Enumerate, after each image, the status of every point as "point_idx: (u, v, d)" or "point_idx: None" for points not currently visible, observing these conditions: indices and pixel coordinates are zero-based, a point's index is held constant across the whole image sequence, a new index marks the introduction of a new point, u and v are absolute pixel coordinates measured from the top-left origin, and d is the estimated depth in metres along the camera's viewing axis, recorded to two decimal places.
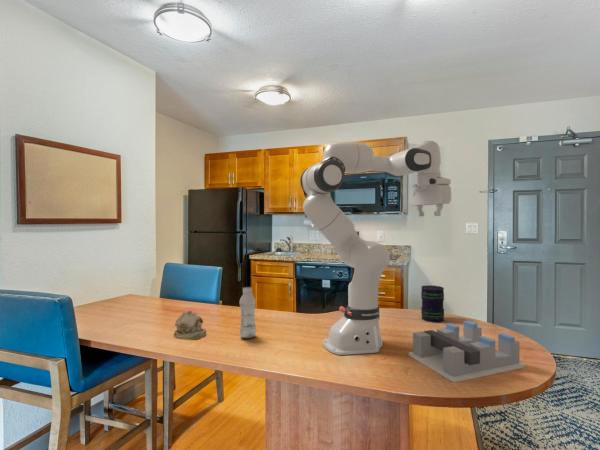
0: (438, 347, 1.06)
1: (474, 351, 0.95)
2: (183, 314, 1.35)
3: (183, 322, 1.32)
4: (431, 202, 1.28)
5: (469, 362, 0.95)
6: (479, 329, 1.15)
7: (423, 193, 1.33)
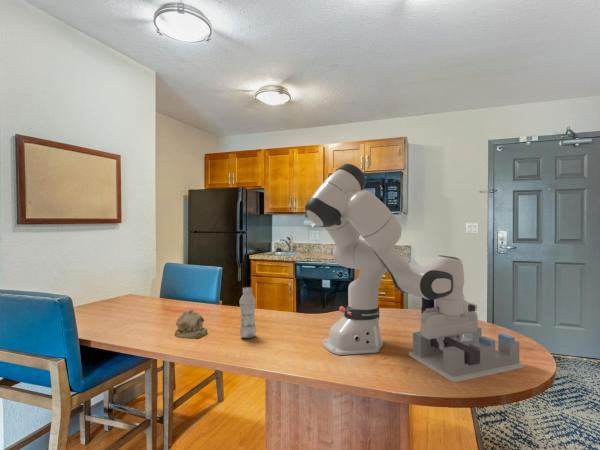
0: (438, 347, 1.06)
1: (474, 351, 0.95)
2: (184, 313, 1.36)
3: (184, 321, 1.33)
4: (461, 332, 1.04)
5: (469, 362, 0.95)
6: (479, 329, 1.15)
7: (449, 321, 1.02)
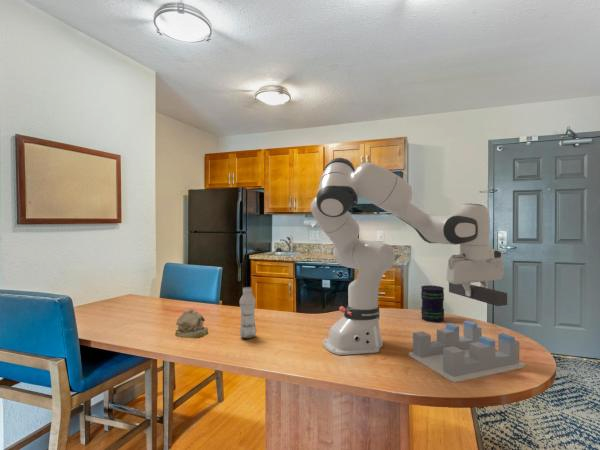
0: (464, 295, 1.09)
1: (501, 293, 0.98)
2: (184, 313, 1.37)
3: (185, 321, 1.34)
4: (488, 279, 1.06)
5: (497, 303, 0.97)
6: (479, 329, 1.15)
7: (475, 267, 1.05)
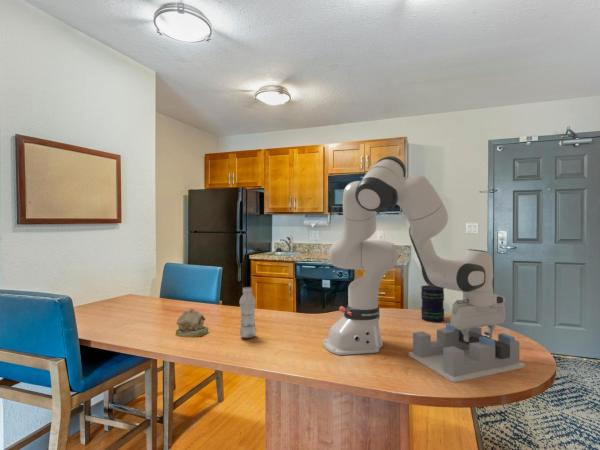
0: (467, 342, 1.10)
1: (504, 346, 0.99)
2: (185, 313, 1.37)
3: (186, 320, 1.34)
4: (490, 323, 1.07)
5: (500, 356, 0.98)
6: (479, 329, 1.15)
7: (478, 313, 1.06)
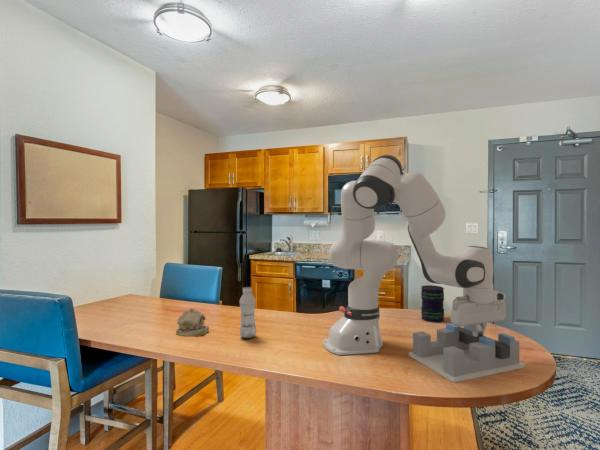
0: (467, 342, 1.10)
1: (504, 346, 0.99)
2: (185, 312, 1.38)
3: (186, 320, 1.35)
4: (490, 320, 1.07)
5: (500, 356, 0.98)
6: None
7: (478, 309, 1.06)
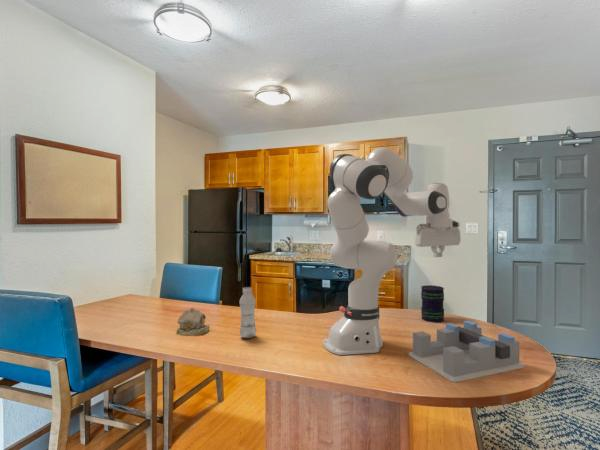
0: (467, 342, 1.10)
1: (504, 346, 0.99)
2: (185, 312, 1.39)
3: (187, 319, 1.36)
4: (447, 243, 1.33)
5: (500, 356, 0.98)
6: (479, 329, 1.15)
7: (437, 234, 1.31)
